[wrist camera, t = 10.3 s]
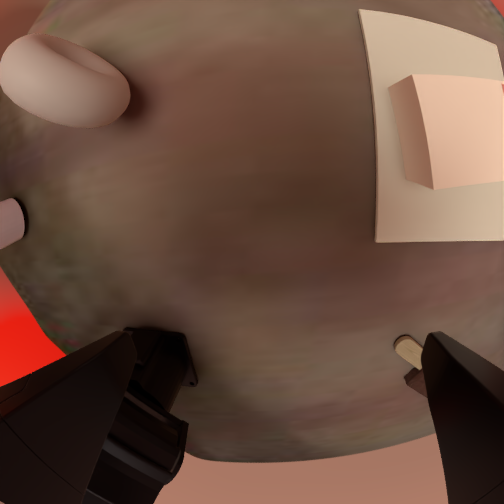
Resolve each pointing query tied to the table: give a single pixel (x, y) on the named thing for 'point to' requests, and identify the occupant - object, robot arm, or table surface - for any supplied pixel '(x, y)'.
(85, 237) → the table surface
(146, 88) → the table surface
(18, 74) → the donut
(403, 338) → the ice cream bar
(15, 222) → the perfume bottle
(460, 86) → the card deck
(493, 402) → the robot arm
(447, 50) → the mat
